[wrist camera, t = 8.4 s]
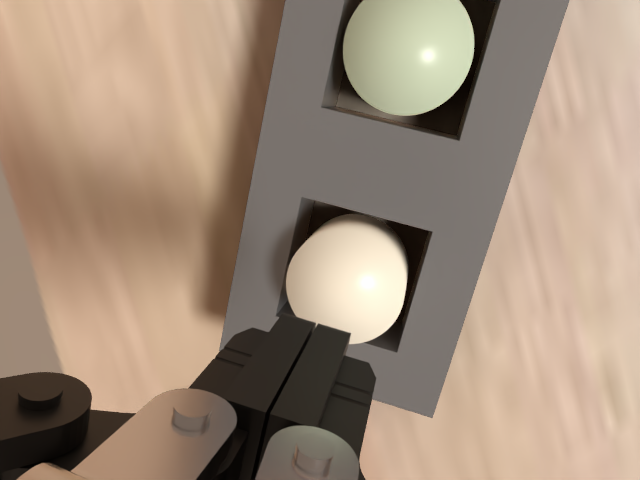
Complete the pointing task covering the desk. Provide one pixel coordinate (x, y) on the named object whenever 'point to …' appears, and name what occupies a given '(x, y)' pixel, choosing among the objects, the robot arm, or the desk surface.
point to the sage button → (408, 53)
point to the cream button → (350, 277)
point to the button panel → (388, 182)
